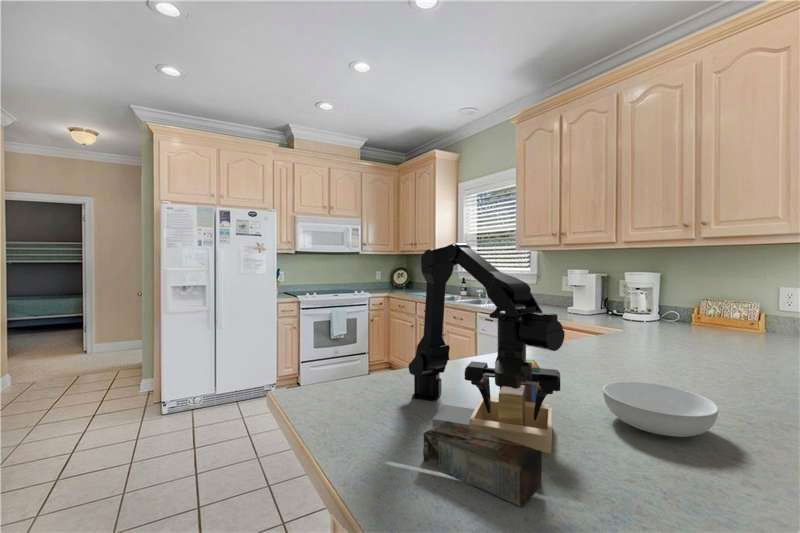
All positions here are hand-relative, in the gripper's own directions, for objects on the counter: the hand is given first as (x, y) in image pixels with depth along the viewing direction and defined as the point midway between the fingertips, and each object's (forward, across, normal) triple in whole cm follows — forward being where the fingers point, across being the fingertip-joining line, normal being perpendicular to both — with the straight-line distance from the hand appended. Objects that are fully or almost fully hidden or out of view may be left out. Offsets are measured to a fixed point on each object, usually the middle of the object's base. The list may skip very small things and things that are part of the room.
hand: (511, 416), depth 79 cm
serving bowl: (+4, +29, +17) cm, 34 cm away
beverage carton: (+5, -4, -17) cm, 18 cm away
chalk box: (+4, 0, +16) cm, 17 cm away
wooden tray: (+4, 0, +1) cm, 4 cm away
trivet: (+4, -12, +2) cm, 13 cm away
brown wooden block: (+4, 0, +1) cm, 4 cm away
